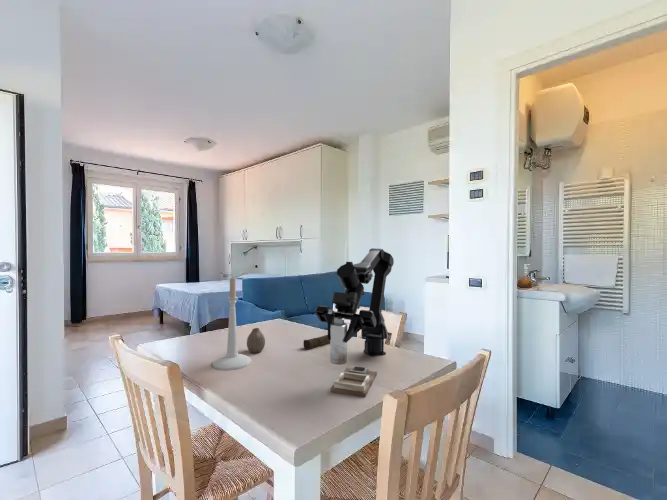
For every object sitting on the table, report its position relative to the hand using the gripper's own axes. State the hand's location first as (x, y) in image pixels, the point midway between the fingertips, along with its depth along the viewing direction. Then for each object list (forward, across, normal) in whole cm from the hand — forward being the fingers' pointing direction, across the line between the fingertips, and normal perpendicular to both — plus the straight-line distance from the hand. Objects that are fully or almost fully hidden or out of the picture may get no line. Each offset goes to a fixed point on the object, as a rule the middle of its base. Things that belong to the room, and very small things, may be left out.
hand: (336, 340), depth 100 cm
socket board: (+6, +4, +13) cm, 15 cm away
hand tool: (-15, -23, +35) cm, 44 cm away
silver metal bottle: (+4, 0, +6) cm, 7 cm away
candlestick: (+9, -40, +10) cm, 42 cm away
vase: (-1, -41, +20) cm, 46 cm away
